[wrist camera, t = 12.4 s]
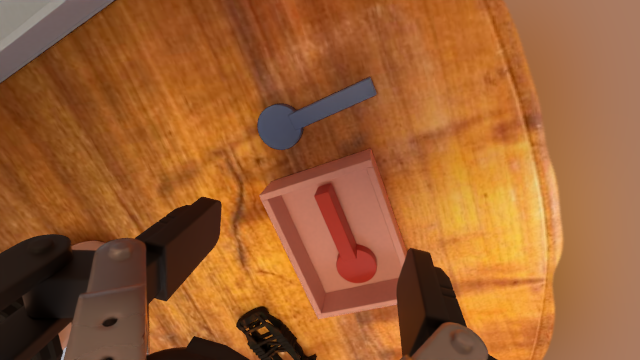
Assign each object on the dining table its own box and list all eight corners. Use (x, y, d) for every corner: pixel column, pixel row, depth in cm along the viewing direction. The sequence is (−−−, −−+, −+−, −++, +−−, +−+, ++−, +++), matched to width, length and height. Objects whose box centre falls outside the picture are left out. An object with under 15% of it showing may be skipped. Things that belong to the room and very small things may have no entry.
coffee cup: (153, 299, 38) (63, 395, 27) (80, 294, 40) (-32, 382, 29) (129, 223, 34) (13, 297, 23) (49, 221, 36) (-93, 289, 25)
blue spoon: (364, 60, 24) (363, 60, 22) (382, 107, 26) (383, 110, 23) (253, 114, 28) (244, 118, 25) (273, 153, 29) (265, 160, 27)
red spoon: (305, 190, 29) (300, 200, 27) (344, 178, 28) (342, 187, 26) (345, 280, 32) (343, 295, 30) (382, 272, 31) (382, 287, 29)
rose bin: (271, 181, 30) (258, 195, 26) (370, 148, 27) (370, 159, 24) (323, 295, 33) (318, 319, 30) (415, 275, 31) (420, 300, 28)
